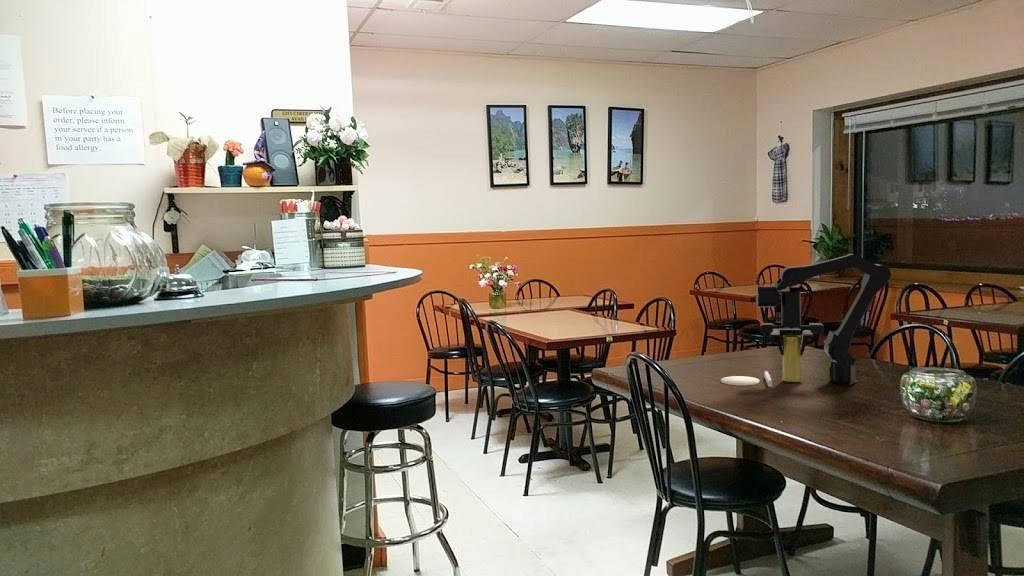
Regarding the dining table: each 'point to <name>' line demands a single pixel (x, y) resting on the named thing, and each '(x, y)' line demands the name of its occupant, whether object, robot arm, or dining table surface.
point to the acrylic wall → (768, 379)
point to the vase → (791, 359)
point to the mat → (740, 380)
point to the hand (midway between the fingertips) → (791, 355)
